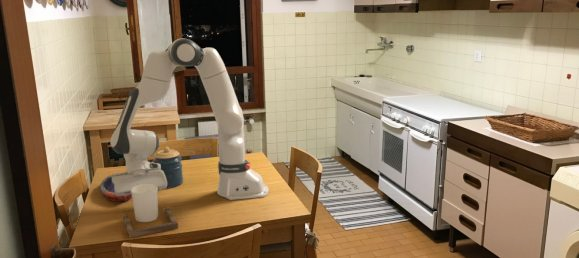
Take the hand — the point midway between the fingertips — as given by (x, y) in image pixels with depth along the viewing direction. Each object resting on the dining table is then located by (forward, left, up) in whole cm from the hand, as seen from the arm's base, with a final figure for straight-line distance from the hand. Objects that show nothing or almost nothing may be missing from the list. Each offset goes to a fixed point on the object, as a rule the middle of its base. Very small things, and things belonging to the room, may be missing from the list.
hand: (143, 201), depth 183 cm
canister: (-2, -33, -5) cm, 34 cm away
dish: (+18, -23, -5) cm, 29 cm away
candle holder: (-2, +4, -5) cm, 7 cm away
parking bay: (-5, +10, -5) cm, 12 cm away
